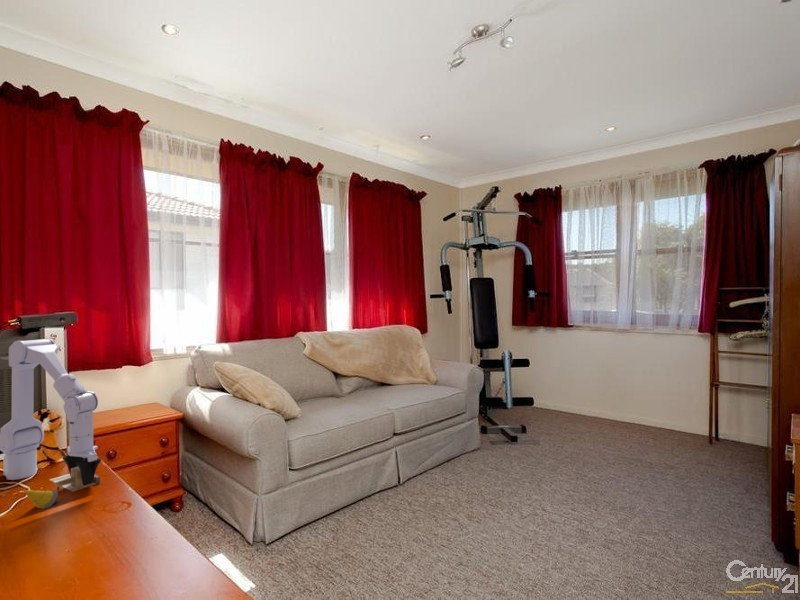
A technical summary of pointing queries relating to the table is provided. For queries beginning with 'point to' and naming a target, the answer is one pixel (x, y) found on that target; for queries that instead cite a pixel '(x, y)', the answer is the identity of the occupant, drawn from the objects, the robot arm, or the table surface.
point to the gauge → (72, 479)
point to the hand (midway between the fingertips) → (81, 481)
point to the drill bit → (42, 498)
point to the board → (68, 486)
